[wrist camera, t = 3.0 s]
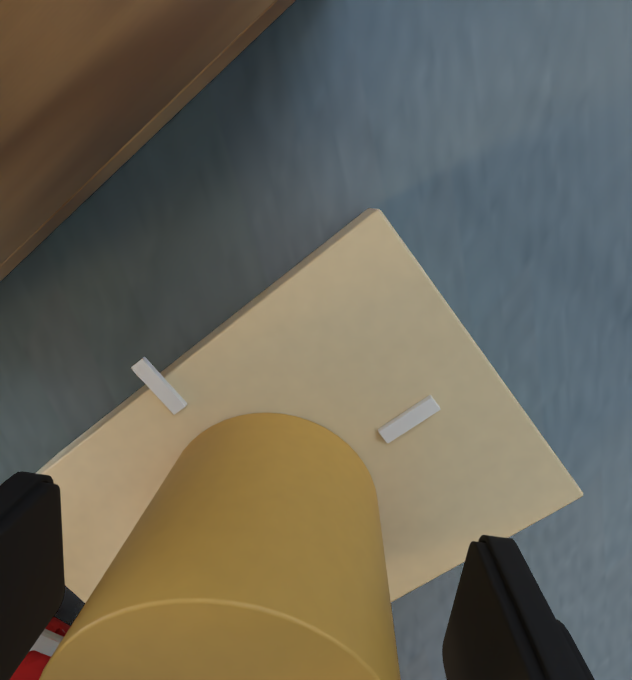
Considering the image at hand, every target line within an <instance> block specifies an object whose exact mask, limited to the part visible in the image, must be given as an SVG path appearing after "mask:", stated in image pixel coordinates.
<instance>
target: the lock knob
mask: <svg viewBox="0 0 632 680" xmlns="http://www.w3.org/2000/svg"><path fill="white" fill-rule="evenodd" d="M39 680H401V679H400V671H399V663H398V655H397V647H396V640H395V632H394V624H393V616H392V609H391V601H390V593H389V585H388V577H387V570H386V562H385V554H384V546H383V538H382V531H381V523H380V515H379V507H378V500H377V495H376V489H375V486H374V483H373V480H372V478H371V475H370V473H369V471H368V469H367V468H366V466H365V464H364V463H363V461H362V460H361V459H360V457H359V456H358V454H357V453H356V452H355V451H354V450H353V449H352V448H351V447H350V446H349V445H348V444H347V443H346V442H345V441H343V440H342V439H341V438H340V437H339V436H337V435H336V434H334V433H333V432H331V431H330V430H328V429H326V428H325V427H323V426H321V425H318V424H316V423H314V422H312V421H309V420H306V419H303V418H300V417H297V416H292V415H287V414H280V413H252V414H246V415H240V416H236V417H233V418H230V419H227V420H224V421H222V422H220V423H217V424H215V425H213V426H211V427H210V428H208V429H207V430H205V431H203V432H202V433H201V434H199V435H198V436H197V437H196V438H195V439H193V440H192V441H191V442H190V443H189V445H188V446H187V447H186V448H185V449H184V450H183V452H182V453H181V455H180V456H179V458H178V459H177V461H176V463H175V464H174V466H173V467H172V469H171V470H170V472H169V474H168V475H167V477H166V478H165V480H164V481H163V483H162V484H161V486H160V488H159V489H158V491H157V492H156V494H155V495H154V497H153V499H152V500H151V502H150V503H149V505H148V506H147V508H146V509H145V511H144V513H143V514H142V516H141V517H140V519H139V520H138V522H137V524H136V525H135V527H134V528H133V530H132V531H131V533H130V534H129V536H128V538H127V539H126V541H125V542H124V544H123V545H122V547H121V549H120V550H119V552H118V553H117V555H116V556H115V558H114V560H113V561H112V563H111V564H110V566H109V567H108V569H107V570H106V572H105V574H104V575H103V577H102V578H101V580H100V581H99V583H98V585H97V586H96V588H95V589H94V591H93V592H92V594H91V595H90V597H89V599H88V600H87V602H86V603H85V605H84V606H83V608H82V610H81V611H80V613H79V614H78V616H77V617H76V619H75V620H74V622H73V624H72V625H71V627H70V628H69V630H68V631H67V633H66V635H65V636H64V638H63V639H62V641H61V642H60V644H59V645H58V647H57V649H56V650H55V652H54V653H53V655H52V656H51V658H50V660H49V661H48V663H47V664H46V666H45V667H44V669H43V671H42V674H41V676H40V679H39Z"/></svg>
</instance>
